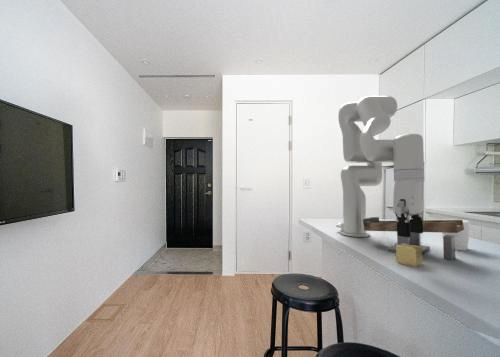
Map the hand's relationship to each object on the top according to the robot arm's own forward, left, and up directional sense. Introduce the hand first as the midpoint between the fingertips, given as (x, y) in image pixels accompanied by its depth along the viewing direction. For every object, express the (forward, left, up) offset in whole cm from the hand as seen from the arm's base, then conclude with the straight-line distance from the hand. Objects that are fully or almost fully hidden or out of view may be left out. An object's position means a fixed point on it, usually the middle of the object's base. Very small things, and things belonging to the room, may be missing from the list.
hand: (410, 234), depth 69 cm
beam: (-6, +15, -2) cm, 16 cm away
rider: (-1, 0, -9) cm, 9 cm away
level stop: (+5, +15, -9) cm, 18 cm away
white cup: (+3, +32, -9) cm, 34 cm away
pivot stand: (-6, +15, -9) cm, 18 cm away
